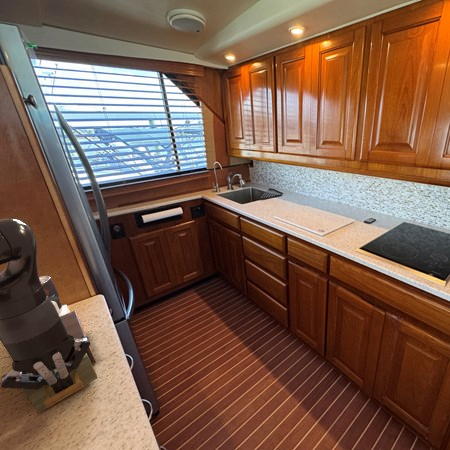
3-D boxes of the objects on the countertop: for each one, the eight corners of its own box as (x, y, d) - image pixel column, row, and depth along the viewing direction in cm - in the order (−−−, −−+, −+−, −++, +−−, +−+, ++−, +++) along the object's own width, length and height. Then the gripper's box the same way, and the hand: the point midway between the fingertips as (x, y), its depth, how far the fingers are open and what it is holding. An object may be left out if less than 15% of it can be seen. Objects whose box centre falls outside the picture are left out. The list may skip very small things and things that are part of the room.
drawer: (102, 392, 53) (92, 369, 51) (39, 431, 46) (22, 407, 44) (87, 348, 64) (78, 327, 62) (34, 374, 57) (21, 352, 55)
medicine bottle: (43, 334, 70) (25, 301, 66) (75, 322, 75) (60, 290, 70) (40, 349, 65) (21, 314, 61) (75, 335, 70) (59, 301, 65)
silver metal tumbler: (68, 311, 79) (51, 272, 74) (69, 322, 75) (51, 281, 69) (39, 322, 75) (18, 282, 69) (38, 334, 70) (15, 292, 65)
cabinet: (96, 362, 61) (84, 335, 58) (33, 396, 53) (15, 367, 50) (85, 334, 70) (75, 310, 67) (30, 360, 62) (15, 334, 59)
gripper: (74, 299, 51) (100, 358, 57) (-25, 337, 42) (19, 402, 48) (81, 315, 46) (108, 377, 52) (-30, 362, 37) (19, 430, 43)
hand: (65, 389), depth 50 cm, fingers closed
